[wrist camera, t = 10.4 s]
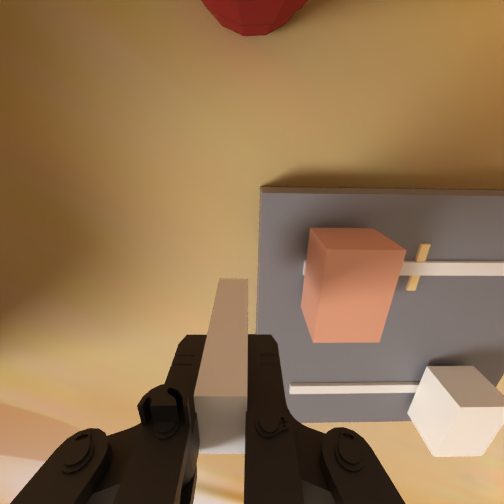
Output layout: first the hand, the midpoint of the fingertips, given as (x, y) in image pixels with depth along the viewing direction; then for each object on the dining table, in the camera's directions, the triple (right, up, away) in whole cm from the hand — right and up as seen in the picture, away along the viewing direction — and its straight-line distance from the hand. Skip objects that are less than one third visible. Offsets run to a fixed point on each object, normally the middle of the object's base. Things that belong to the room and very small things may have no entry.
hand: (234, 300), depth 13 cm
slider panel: (+12, -3, +9) cm, 15 cm away
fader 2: (+18, -10, +9) cm, 22 cm away
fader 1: (+7, +1, +3) cm, 7 cm away
